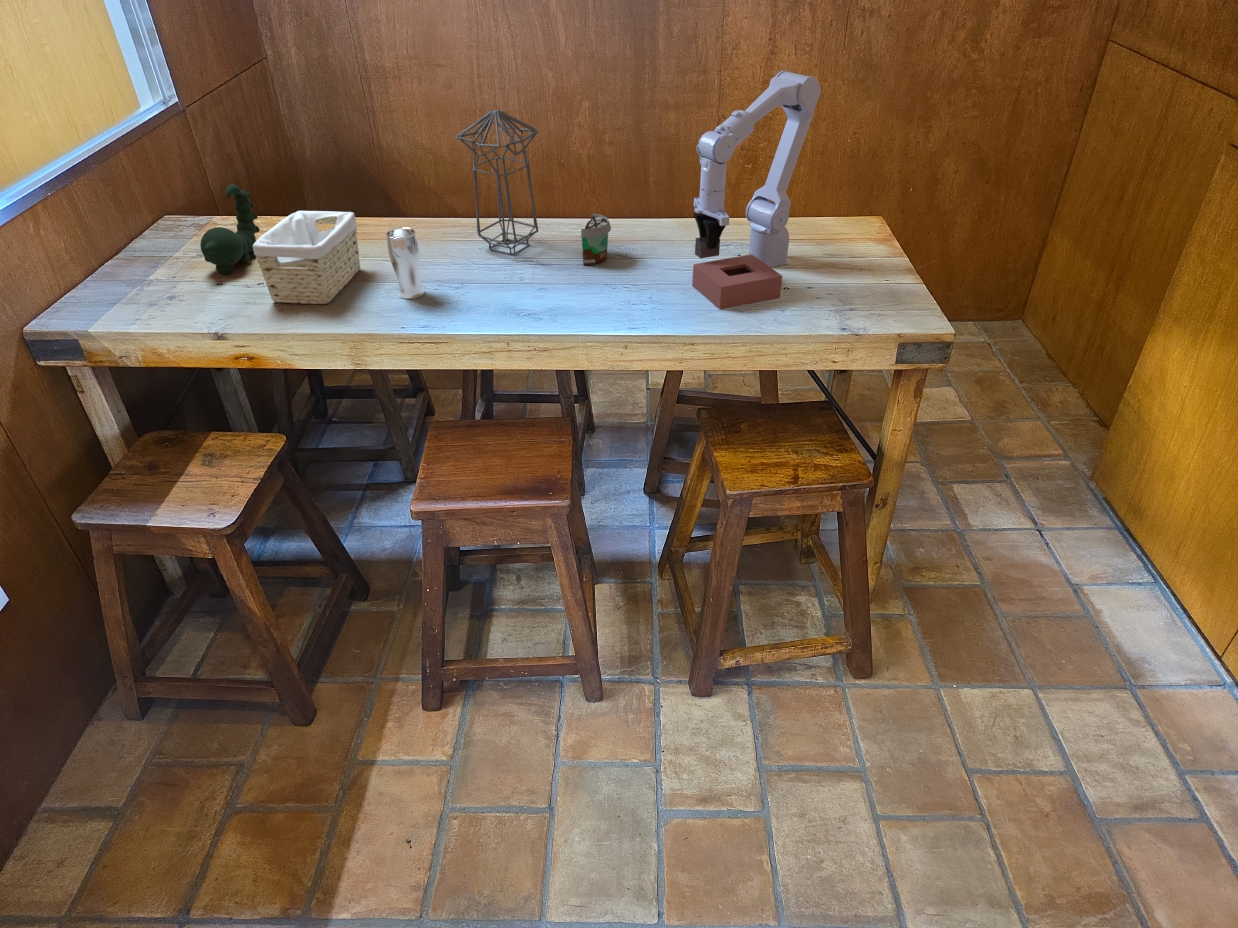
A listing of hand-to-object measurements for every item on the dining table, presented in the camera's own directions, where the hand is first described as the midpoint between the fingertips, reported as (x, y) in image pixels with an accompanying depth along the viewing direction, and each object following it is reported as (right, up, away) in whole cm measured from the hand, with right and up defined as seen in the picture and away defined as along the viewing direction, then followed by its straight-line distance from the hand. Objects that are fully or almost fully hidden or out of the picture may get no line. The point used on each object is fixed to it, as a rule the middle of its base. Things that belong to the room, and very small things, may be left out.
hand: (708, 245), depth 188 cm
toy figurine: (-120, -1, +15) cm, 121 cm away
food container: (-27, +1, +16) cm, 31 cm away
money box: (+6, -11, 0) cm, 13 cm away
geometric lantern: (-51, +5, +22) cm, 56 cm away
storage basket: (-95, -9, +4) cm, 95 cm away
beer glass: (-71, -12, 0) cm, 72 cm away
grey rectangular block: (0, -2, +1) cm, 2 cm away
